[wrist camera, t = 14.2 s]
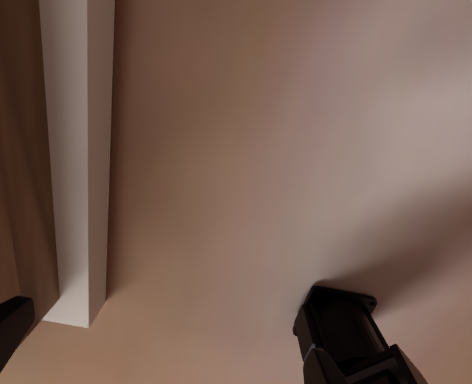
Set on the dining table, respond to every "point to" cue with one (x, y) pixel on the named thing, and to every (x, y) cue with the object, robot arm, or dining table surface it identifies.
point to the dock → (79, 148)
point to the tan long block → (25, 164)
